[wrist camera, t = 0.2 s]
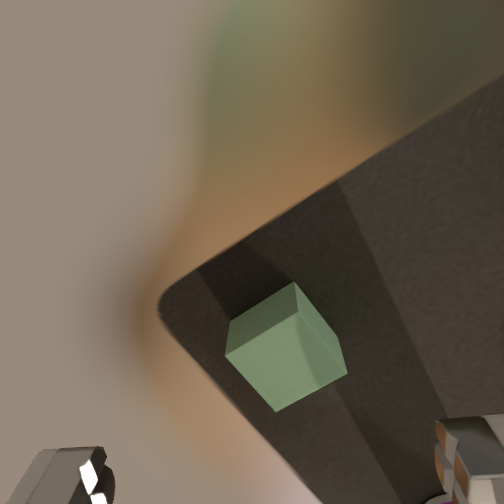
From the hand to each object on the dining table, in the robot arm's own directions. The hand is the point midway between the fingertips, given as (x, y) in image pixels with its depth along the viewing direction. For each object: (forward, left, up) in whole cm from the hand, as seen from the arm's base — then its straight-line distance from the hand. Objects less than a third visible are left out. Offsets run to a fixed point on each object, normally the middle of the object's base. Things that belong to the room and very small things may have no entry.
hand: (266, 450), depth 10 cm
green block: (+7, -4, -18) cm, 19 cm away
